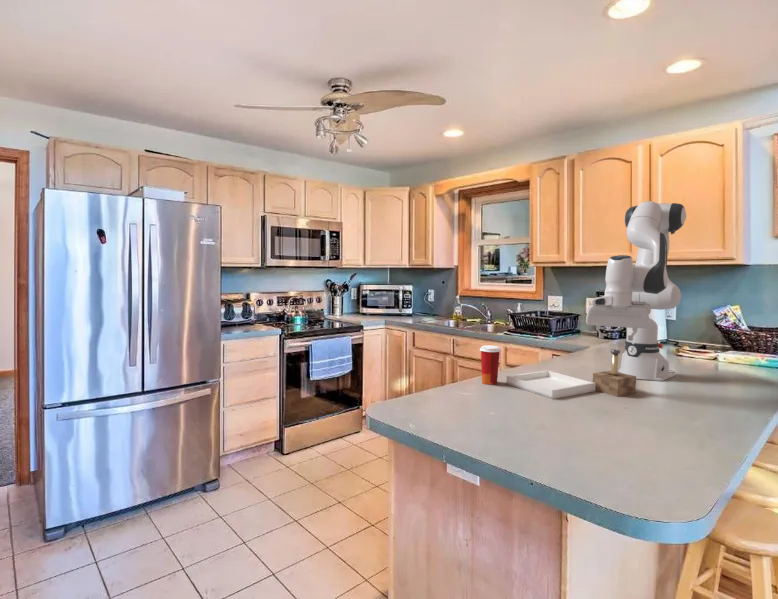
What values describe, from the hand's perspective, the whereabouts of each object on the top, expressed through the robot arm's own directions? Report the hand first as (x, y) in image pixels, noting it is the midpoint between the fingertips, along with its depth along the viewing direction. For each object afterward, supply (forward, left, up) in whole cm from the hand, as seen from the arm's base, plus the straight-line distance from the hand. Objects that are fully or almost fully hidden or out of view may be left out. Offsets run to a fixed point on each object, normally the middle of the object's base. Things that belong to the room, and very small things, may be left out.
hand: (615, 339), depth 162 cm
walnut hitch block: (0, 0, -19) cm, 19 cm away
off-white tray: (+17, -14, -19) cm, 29 cm away
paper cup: (+33, -29, -19) cm, 48 cm away
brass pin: (0, 0, -19) cm, 19 cm away
